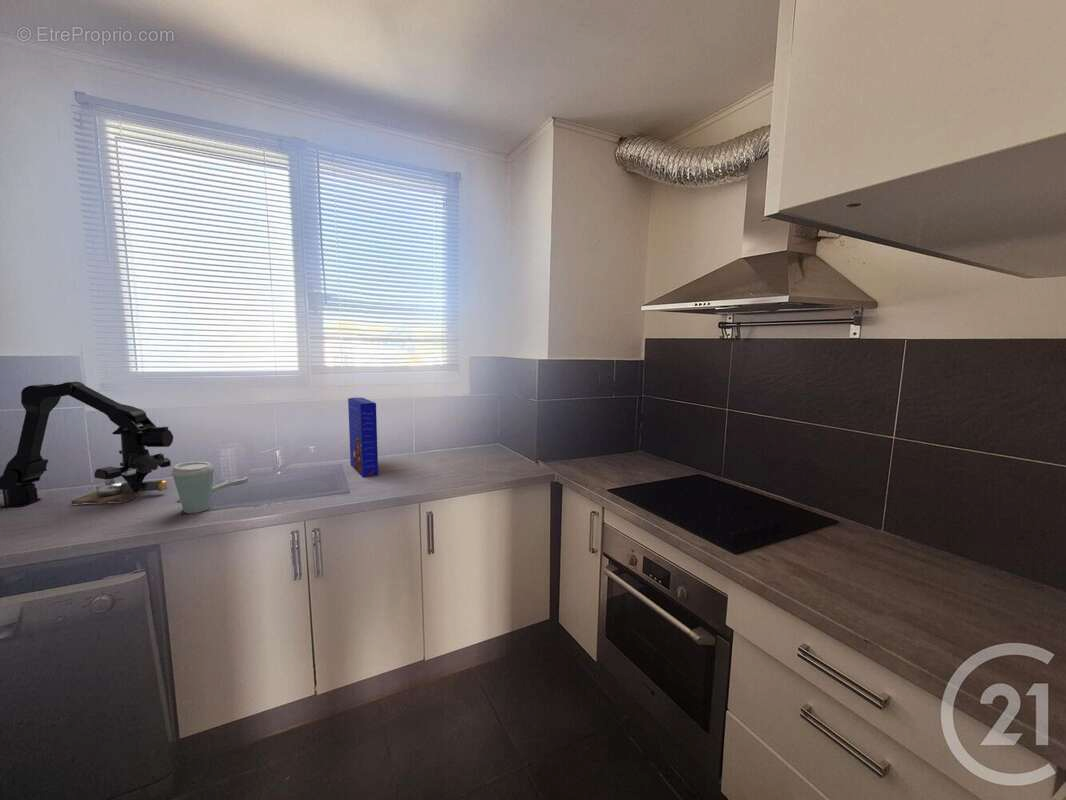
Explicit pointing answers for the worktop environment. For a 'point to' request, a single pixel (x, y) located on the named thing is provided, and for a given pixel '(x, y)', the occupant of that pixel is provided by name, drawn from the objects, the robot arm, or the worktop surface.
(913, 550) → the worktop surface
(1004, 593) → the worktop surface
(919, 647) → the worktop surface
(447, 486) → the worktop surface
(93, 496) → the block
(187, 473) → the disposable coffee cup
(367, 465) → the cereal box
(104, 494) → the amber-knobbed lever
